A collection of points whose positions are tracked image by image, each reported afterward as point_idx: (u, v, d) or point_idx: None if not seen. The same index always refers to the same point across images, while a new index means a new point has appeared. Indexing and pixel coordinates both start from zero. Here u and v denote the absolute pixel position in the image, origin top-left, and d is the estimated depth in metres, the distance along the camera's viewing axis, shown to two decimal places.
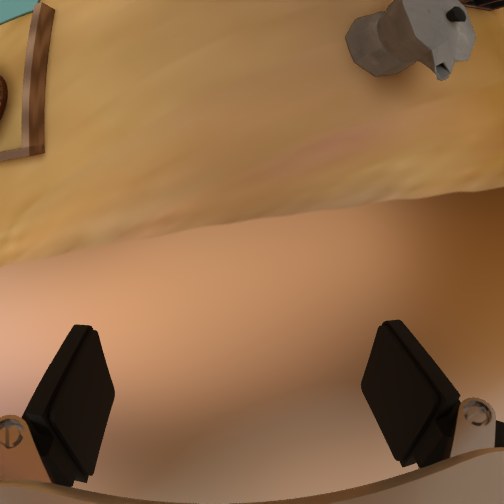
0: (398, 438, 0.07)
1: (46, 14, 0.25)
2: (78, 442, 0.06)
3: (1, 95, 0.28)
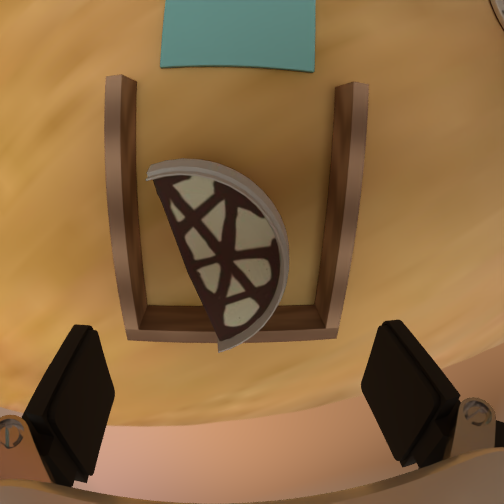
0: (398, 437, 0.07)
1: None
2: (78, 442, 0.06)
3: None
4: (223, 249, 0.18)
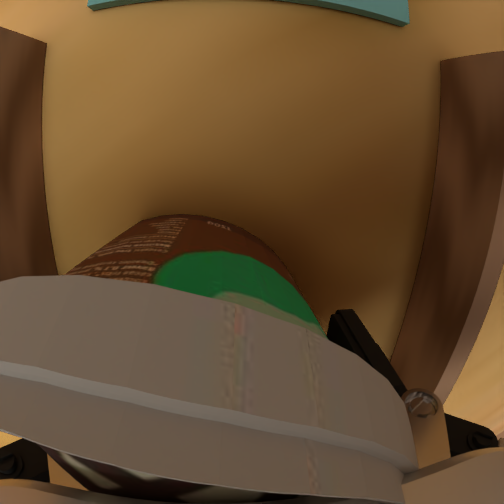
0: None
1: None
2: None
3: None
4: None
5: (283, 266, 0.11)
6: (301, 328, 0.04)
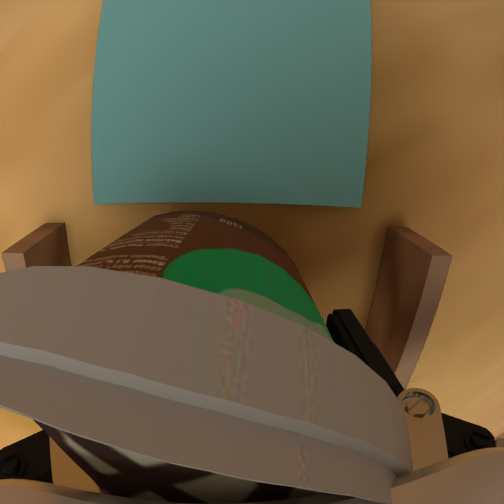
0: None
1: None
2: None
3: None
4: None
5: (293, 266, 0.11)
6: (301, 326, 0.04)
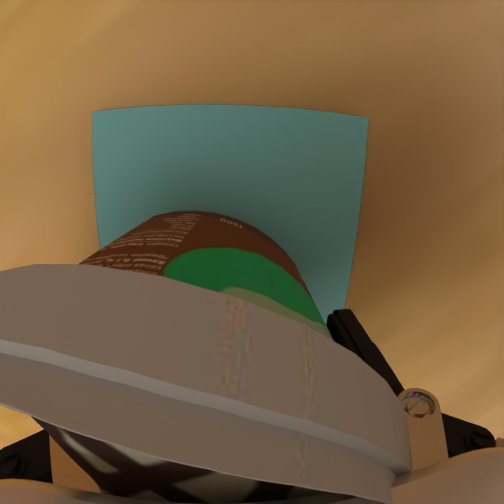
0: None
1: None
2: None
3: None
4: None
5: (293, 265, 0.11)
6: (301, 324, 0.04)
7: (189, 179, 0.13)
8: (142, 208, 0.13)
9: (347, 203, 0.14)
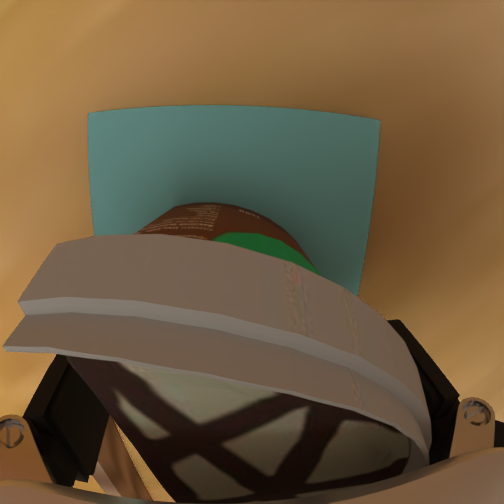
0: None
1: None
2: (79, 442, 0.06)
3: None
4: (277, 484, 0.05)
5: None
6: (340, 286, 0.05)
7: (191, 185, 0.12)
8: (141, 216, 0.12)
9: (357, 211, 0.13)
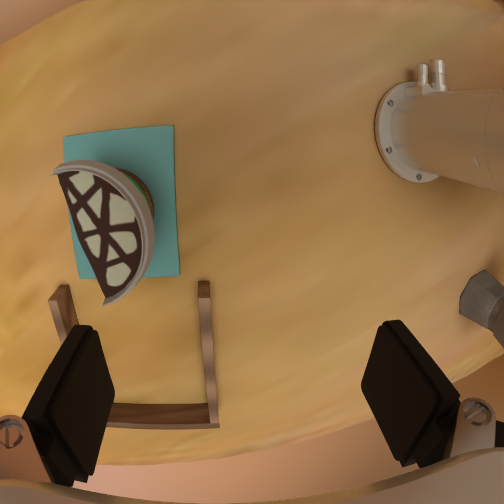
0: (398, 438, 0.07)
1: None
2: (78, 442, 0.06)
3: (152, 215, 0.30)
4: (102, 224, 0.22)
5: (141, 183, 0.29)
6: (111, 166, 0.22)
7: None
8: None
9: (166, 165, 0.30)
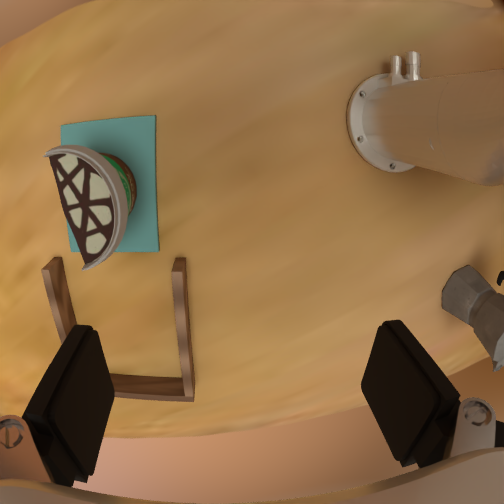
0: (397, 438, 0.07)
1: (184, 276, 0.37)
2: (78, 442, 0.06)
3: (134, 195, 0.33)
4: (83, 198, 0.25)
5: (125, 166, 0.32)
6: (93, 150, 0.25)
7: (92, 147, 0.32)
8: None
9: (148, 151, 0.33)
